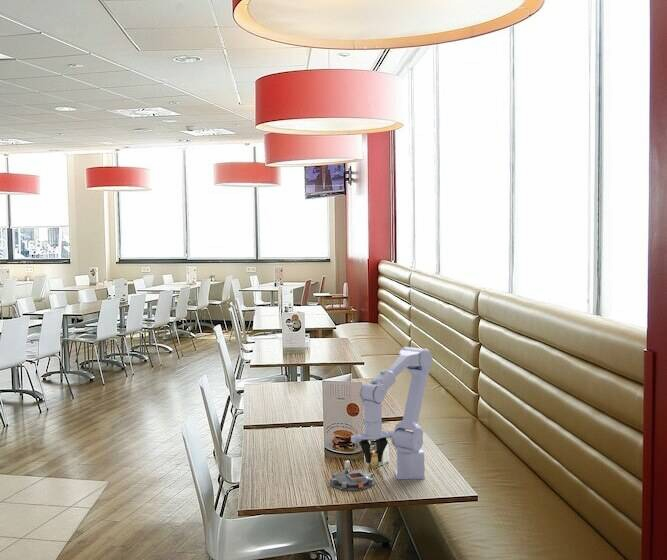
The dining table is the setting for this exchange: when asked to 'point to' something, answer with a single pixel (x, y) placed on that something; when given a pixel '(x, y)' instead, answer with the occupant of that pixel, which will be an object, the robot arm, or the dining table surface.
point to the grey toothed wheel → (352, 477)
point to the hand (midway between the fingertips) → (373, 461)
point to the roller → (373, 459)
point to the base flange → (352, 487)
